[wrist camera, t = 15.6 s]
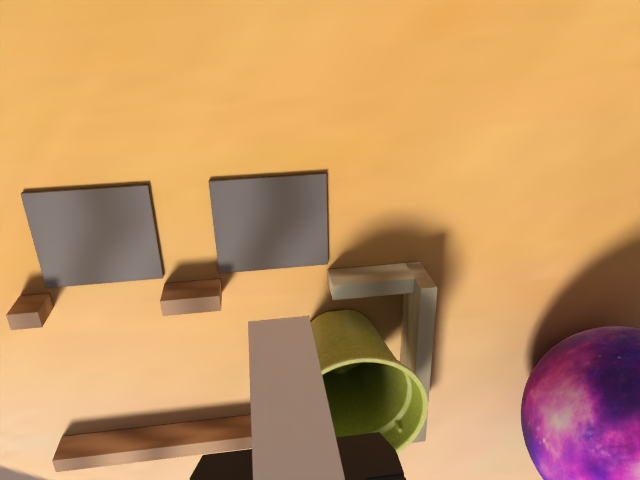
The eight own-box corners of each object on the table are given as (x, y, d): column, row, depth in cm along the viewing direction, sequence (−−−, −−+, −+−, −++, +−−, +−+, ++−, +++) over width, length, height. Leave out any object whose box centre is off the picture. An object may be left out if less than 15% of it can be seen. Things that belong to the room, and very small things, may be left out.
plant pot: (344, 403, 46) (366, 486, 38) (255, 354, 43) (259, 434, 35) (417, 326, 44) (456, 399, 36) (329, 268, 41) (351, 334, 33)
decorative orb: (607, 257, 44) (773, 376, 30) (675, 363, 50) (838, 501, 36) (458, 365, 46) (549, 518, 33) (539, 453, 52) (645, 613, 39)
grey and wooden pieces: (65, 447, 44) (49, 488, 40) (-11, 194, 35) (-39, 217, 31) (411, 406, 47) (425, 441, 44) (426, 166, 38) (445, 184, 35)
